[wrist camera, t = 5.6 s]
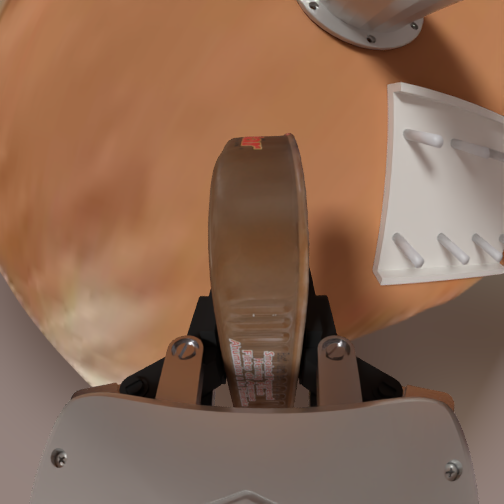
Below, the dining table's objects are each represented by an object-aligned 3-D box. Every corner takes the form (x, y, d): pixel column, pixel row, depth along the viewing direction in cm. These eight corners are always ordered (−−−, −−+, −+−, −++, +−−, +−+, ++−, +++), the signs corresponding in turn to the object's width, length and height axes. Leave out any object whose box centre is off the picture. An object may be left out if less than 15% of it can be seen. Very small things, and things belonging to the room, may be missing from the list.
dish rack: (387, 84, 18) (422, 78, 13) (517, 126, 17) (551, 136, 12) (372, 271, 27) (393, 307, 22) (492, 263, 26) (517, 288, 20)
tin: (281, 345, 20) (297, 448, 12) (239, 348, 20) (241, 452, 12) (284, 127, 12) (345, 149, 5) (219, 130, 12) (187, 154, 5)
